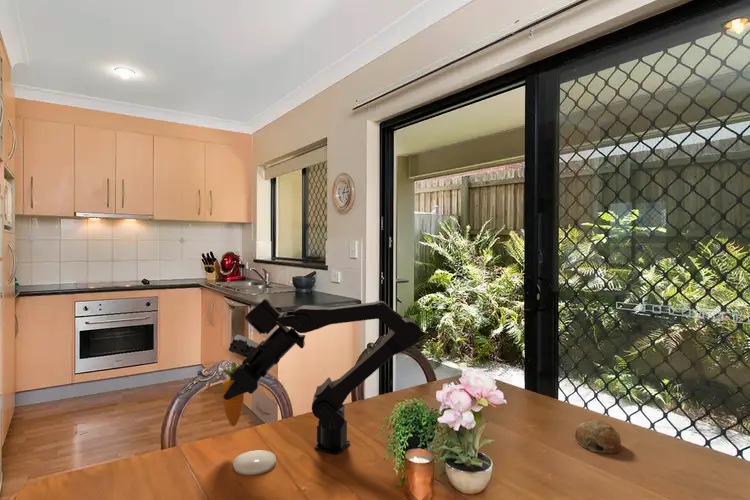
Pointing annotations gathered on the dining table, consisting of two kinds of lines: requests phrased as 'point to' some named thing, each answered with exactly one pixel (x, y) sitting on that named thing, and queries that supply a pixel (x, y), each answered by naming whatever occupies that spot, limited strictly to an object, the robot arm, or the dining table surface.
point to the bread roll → (598, 436)
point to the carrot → (232, 399)
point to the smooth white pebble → (254, 462)
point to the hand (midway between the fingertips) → (227, 394)
